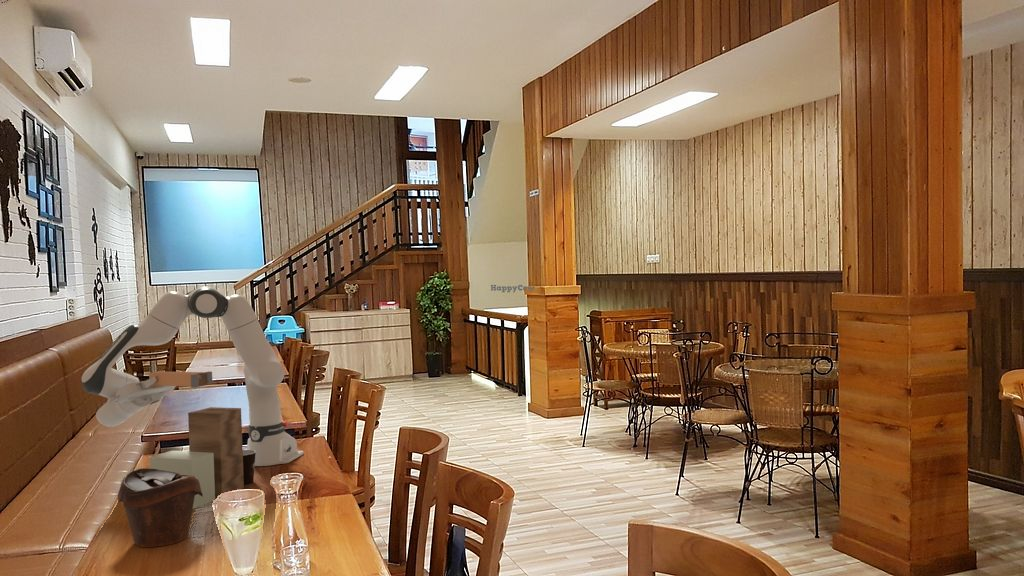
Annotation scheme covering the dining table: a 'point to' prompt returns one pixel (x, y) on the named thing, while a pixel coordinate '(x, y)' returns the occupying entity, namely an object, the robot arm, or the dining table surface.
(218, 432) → the stand
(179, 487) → the brown round container
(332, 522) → the dining table surface
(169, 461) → the grey green block
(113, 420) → the robot arm
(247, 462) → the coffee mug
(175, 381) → the orange brown flat block
